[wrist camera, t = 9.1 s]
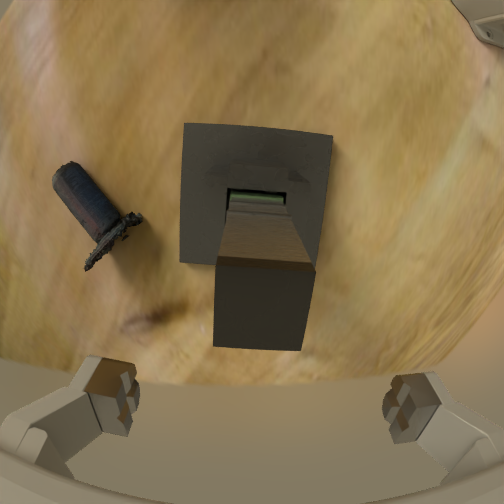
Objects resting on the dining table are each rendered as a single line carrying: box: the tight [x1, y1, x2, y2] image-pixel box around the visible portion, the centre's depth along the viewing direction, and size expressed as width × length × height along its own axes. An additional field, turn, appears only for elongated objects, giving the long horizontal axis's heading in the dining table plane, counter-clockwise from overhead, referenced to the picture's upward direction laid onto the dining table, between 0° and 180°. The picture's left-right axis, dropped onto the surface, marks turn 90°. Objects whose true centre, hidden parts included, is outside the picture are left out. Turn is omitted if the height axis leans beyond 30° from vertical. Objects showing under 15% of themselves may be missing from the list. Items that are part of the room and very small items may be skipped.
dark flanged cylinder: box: [52, 161, 142, 272], centre depth 34 cm, size 9×8×12 cm
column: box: [213, 190, 316, 351], centre depth 21 cm, size 4×4×17 cm
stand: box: [180, 123, 333, 269], centre depth 32 cm, size 16×16×10 cm
